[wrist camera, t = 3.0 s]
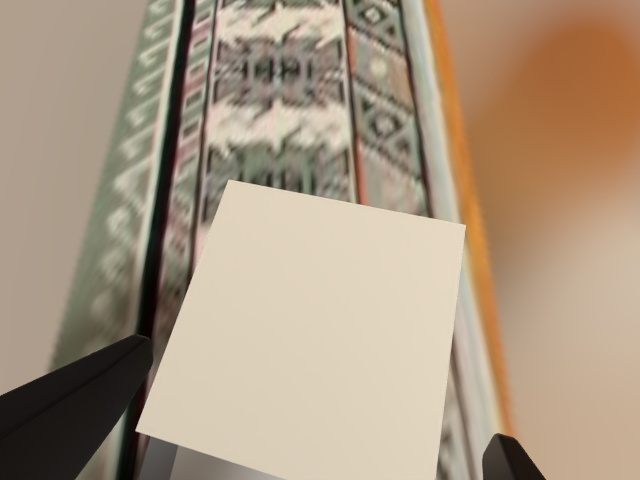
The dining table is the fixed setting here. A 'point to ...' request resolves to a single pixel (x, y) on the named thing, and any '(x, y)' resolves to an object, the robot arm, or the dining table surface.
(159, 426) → the cream block
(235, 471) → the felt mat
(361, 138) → the dining table surface
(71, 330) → the dining table surface
